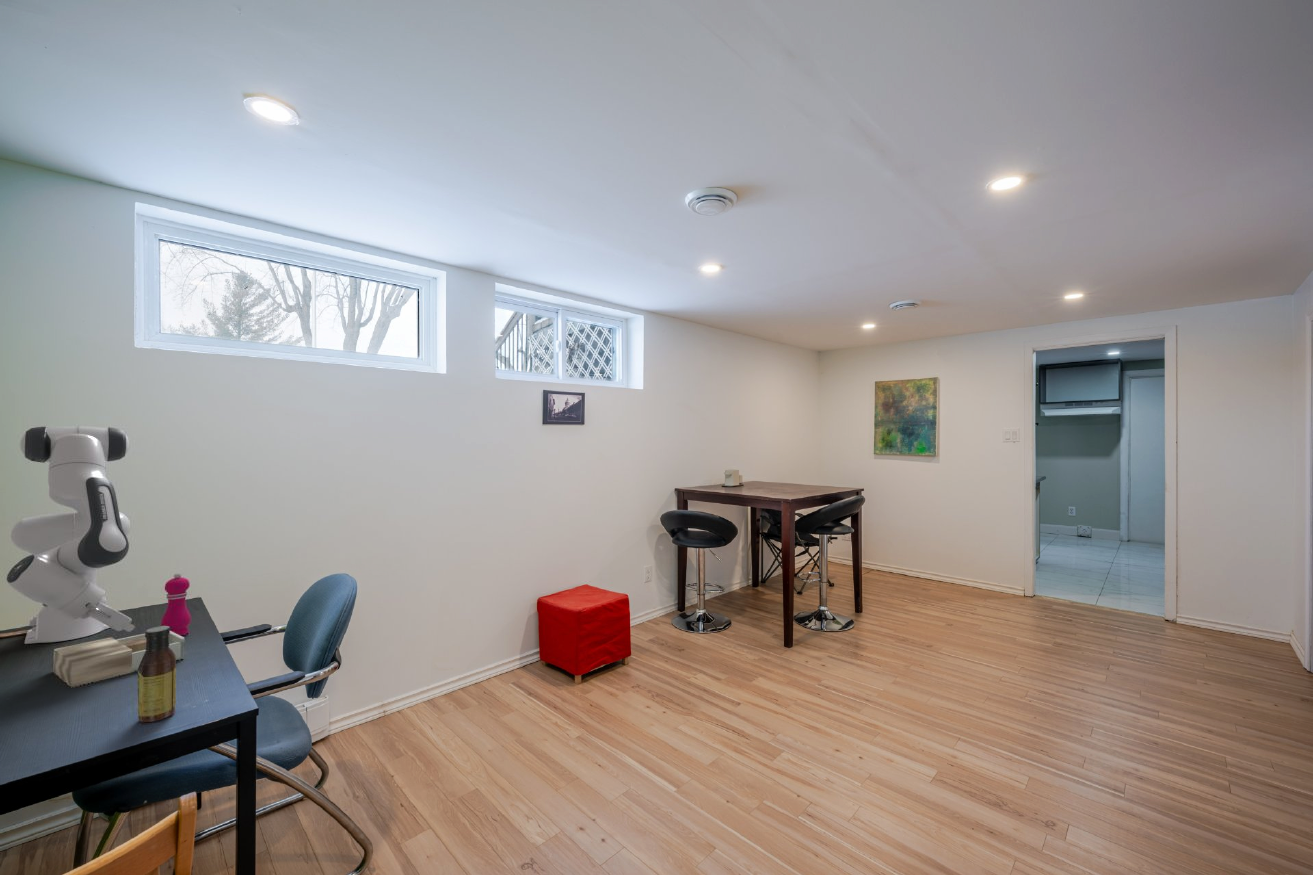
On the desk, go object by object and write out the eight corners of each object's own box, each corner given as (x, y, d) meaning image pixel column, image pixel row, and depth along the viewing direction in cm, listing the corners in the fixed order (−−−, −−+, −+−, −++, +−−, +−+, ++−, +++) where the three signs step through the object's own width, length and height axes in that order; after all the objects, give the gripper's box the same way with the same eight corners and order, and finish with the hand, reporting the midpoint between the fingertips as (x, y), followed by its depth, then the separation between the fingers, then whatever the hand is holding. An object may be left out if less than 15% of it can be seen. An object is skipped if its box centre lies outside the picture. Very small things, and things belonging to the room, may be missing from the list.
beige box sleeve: (53, 671, 142) (53, 649, 142) (110, 658, 152) (111, 637, 152) (71, 688, 133) (72, 663, 133) (131, 672, 142) (132, 650, 142)
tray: (110, 658, 152) (111, 637, 152) (161, 646, 161) (161, 626, 161) (131, 672, 142) (132, 650, 142) (184, 659, 151) (184, 637, 152)
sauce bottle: (153, 710, 121) (156, 623, 122) (183, 710, 122) (185, 622, 123) (127, 725, 115) (131, 633, 116) (158, 724, 115) (162, 632, 116)
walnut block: (120, 643, 148) (158, 634, 155) (119, 661, 148) (157, 651, 155) (126, 646, 146) (164, 637, 153) (125, 664, 146) (163, 655, 153)
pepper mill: (172, 640, 166) (174, 576, 167) (154, 638, 168) (156, 574, 168) (196, 632, 174) (198, 571, 174) (178, 630, 175) (180, 569, 176)
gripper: (106, 597, 137) (155, 625, 145) (83, 586, 148) (130, 612, 156) (81, 619, 133) (132, 646, 141) (59, 606, 144) (108, 632, 152)
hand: (131, 628), depth 149 cm, fingers closed
